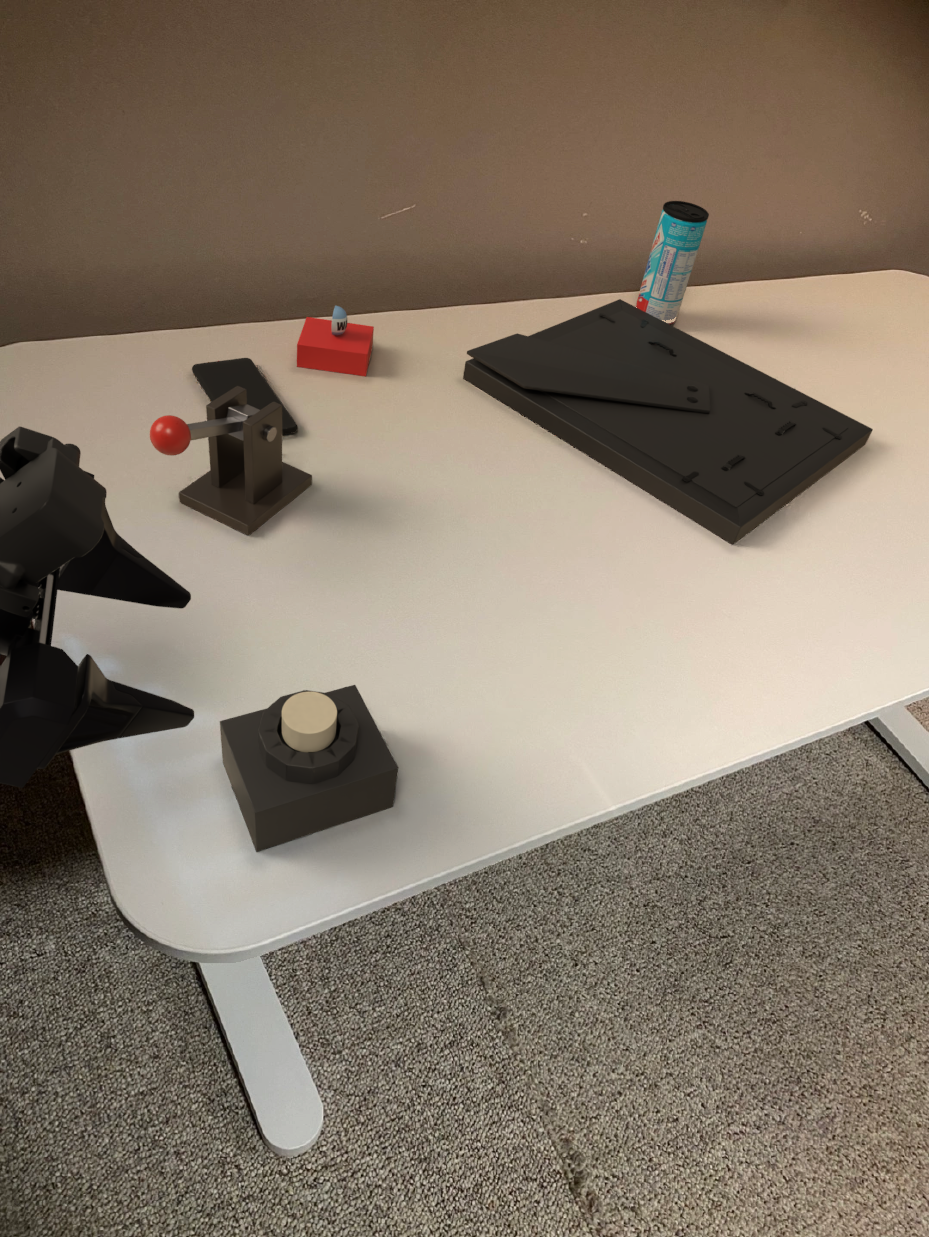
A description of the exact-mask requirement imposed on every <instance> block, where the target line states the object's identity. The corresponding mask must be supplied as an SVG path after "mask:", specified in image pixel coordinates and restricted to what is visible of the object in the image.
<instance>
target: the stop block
mask: <svg viewBox="0 0 929 1237" xmlns="http://www.w3.org/2000/svg"><path fill="white" fill-rule="evenodd" d="M310 691H311V692H318V693H321V694H324V695H326V696H327V697H329V698H330V699H331V700H332V701H333V702H334V704H335V706H336V708H337V723H336V735H335V738H334V740H333V741H332V743H331V744H330V745H329V746H328V747H326V748H325V749H323V750H320V751H317V752H310V753H307V752H300V751H297V750H295V749H293V748H291V747H290V746H289V745H288V744H287V743H286V742H285V741H284V739H283V736H282V708H283V706H284V704H285V702H286V701H287V700H288V699H289V698H290V697H292V696H293V695H295V694H298V693H301V692H310ZM369 710H370V709H368V706H367V704H366V703H365V701H364V699H363V697H362V695H361V693H360V691H359V690H358V687H357V685H356V684H351V685H348V686H345V687H341V688H337V689H333V690H329V691H326V692H323V691H314V690H308V689H305V690H300V691H296V692H293V693H290V694H285V695H281V696H280V697H278V698H277V699H276V700H275V701H274V702H273V703H271V704H270V705H269V706H268V707H266V708H263V709H260V710H259V709H258V710H256V711H252V712H248V713H244V714H241V715H238V716H237V715H236V716H233V717H230V718H225V719H222V720H220V721H219V729H220V730H219V732H220V743H221V744H220V745H221V756H222V764H223V766H224V770H225V772H226V774H227V777H228V780H229V783H230V786H231V788H232V791H233V793H234V796H235V799H236V801H237V803H238V806H239V809H240V812H241V814H242V818H243V820H244V822H245V826H246V828H247V832H248V833H249V836H250V838H251V841H252V844H253V847H254V850H255V852H256V853H258V852H262V851H265V850H269V849H271V848H274V847H277V846H279V845H283V844H285V843H288V842H289V843H290V842H292V841H294V840H298V839H300V838H303V837H308V836H311V835H312V834H315V833H319V832H321V831H325V830H327V829H331V828H333V827H337V826H340V825H343V824H346V823H348V822H351V821H356V820H358V819H361V818H363V817H367V816H370V815H373V814H376V813H379V812H381V811H385V810H388V809H391V808H394V803H395V796H396V788H397V781H398V774H399V766H398V764H397V762H396V759H394V757H393V754H392V752H391V750H390V749H389V747H388V745H387V743H386V741H385V739H384V737H383V735H382V733H381V731H380V729H379V728H378V725H377V723H376V722H375V720H374V717H373V716H372V714H371V711H369Z"/></svg>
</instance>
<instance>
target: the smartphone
mask: <svg viewBox="0 0 929 1237" xmlns="http://www.w3.org/2000/svg"><path fill="white" fill-rule="evenodd" d="M191 372H192V374H193V375H194V376H195V378H196V380H197V382H198V383H199V384H200V387H201V388H202V389H203V391H204V393H205V394H206V396H207V398H208V399H209V401H210V403H211V402H212V401H214V400H216V399H217V398H219V397H220V396H222V395H224V394H225V393H227V392H228V391H230V390H232V389H233V388H235V387H237V386H239V387H242V388H244V389H246V398H247V405H250V406H252V407H254V408H256V409H259V410H261V409H263V408H264V407H266V406H267V405H269V404H270V403H272V402H276V403H278V404H280V405H282V436H285V435H290V434H291V435H292V434H295V433H296V432H298V429H299V426H298V424H297V422H296V421H295V419H294V418H293V417H292V415H291V414H290V412H289V411H288V410H287V408H286V407H285V405H284V404H283V402H282V401H281V400H280V398H279V397H278V395H277V393H276V392H275V391H274V389H273V388H272V387H271V384H269V383H268V381H267V379H266V378H265V377H264V375H263V374H262V372H261V371H260V369H259V368H258V367H257V365H256V364H255V362H254V361H253V360H252V358H249V357H240V358H231V359H225V360H224V359H223V360H217V361H210V362H209V361H208V362H201V363H195V364H193V365H192V366H191Z"/></svg>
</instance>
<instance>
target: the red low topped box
mask: <svg viewBox="0 0 929 1237" xmlns="http://www.w3.org/2000/svg"><path fill="white" fill-rule="evenodd" d="M374 329H375V326H373V325H368V324H367V325H366V324H359V323H351V322H348V314H347V312H346V310H345V309H344V308H343V307H341V306H339V305H334V308H333V312H332V318H331V320H330V319H324V318H317V317H310V316H306V317H305V320H304V323H303V326H302V329H301V331H300V334H299V338H298V340H297V343H296V368H302V369H303V368H304V369H310V370H311V369H312V370H318V371H326V372H331V373H333V372H334V373H339V374H340V373H341V374H346V375H348V374H349V375H354V376H355V375H356V376H361V377H367V374H368V369H369V365H370V359H371V356H372V351H373V345H374V344H373V342H374V331H375V330H374Z"/></svg>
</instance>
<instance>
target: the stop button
mask: <svg viewBox="0 0 929 1237" xmlns="http://www.w3.org/2000/svg"><path fill="white" fill-rule="evenodd" d="M309 691H310V692H301V693H298V694H295V695H293V696H292V697H290V698H289V699H288V700H287V701H286V702H285V704H284V706H283V708H282V736H283V739H284V741H285V742H286V743H287V744H288V745H289V746H290V747H291V748H293V749H295V750H297V751H300V752H307V753H310V752H317V751H320V750H323V749H325V748H326V747H328V746H329V745H330V744H331V743H332V741H333V740H334V738H335V735H336V723H337V708H336V706H335V704H334V702H333V701H332V700H331V699H330V698H329V697H327V696H326V695H324V694H321V693H318V692H319V691H316V692H311V691H312V690H309Z"/></svg>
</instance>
